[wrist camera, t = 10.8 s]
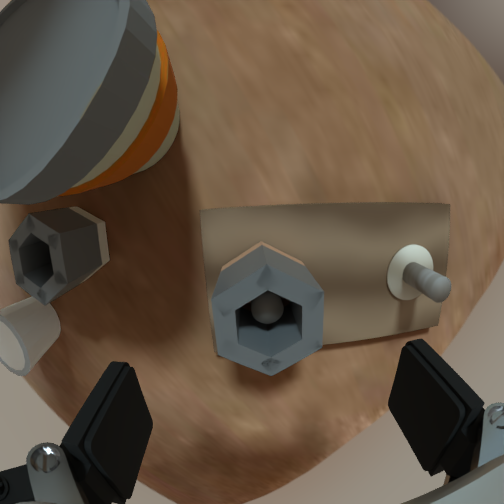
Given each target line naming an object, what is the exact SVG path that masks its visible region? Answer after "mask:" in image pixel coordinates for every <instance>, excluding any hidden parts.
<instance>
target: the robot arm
mask: <svg viewBox="0 0 504 504" xmlns="http://www.w3.org/2000/svg"><path fill="white" fill-rule="evenodd" d="M483 405H484V402H483V401H482V399H481V398H480V397H479V396H478V395H477V394H476V393H475V392H474V391H473V390H472V389H471V388H470V386H469V385H468V384H467V383H466V382H465V381H464V380H463V379H462V378H461V377H460V376H459V375H458V374H457V373H456V372H455V371H454V370H453V369H452V368H451V367H450V366H449V365H448V364H447V363H446V362H445V361H444V360H443V359H442V358H441V357H440V356H439V355H438V354H437V353H436V352H435V351H434V350H433V349H432V348H431V347H430V346H429V345H428V344H427V343H426V342H425V341H424V340H423V339H417V340H413V341H408V342H407V343H406V345H405V346H404V347H403V348H402V350H401V355H400V359H399V363H398V367H397V371H396V375H395V379H394V383H393V386H392V390H391V393H390V397H389V400H388V406H389V409H390V411H391V413H392V415H393V416H394V418H395V420H396V421H397V423H398V425H399V427H400V429H401V430H402V432H403V434H404V436H405V437H406V439H407V440H408V443H409V444H410V446H411V448H412V450H413V452H414V453H415V455H416V457H417V459H418V461H419V463H420V464H421V466H422V468H423V469H424V470H425V471H428V472H429V474H430V476H433V475H435V474H437V473H440V472H441V471H443V470H444V471H445V472H446V477H445V481H444V484H443V486H442V487H439V488H437V489H435V490H433V491H431V492H429V493H427V494H424V495H422V496H420V497H417V498H415V499H412V500H410V501H407V502H404V503H402V504H504V403H494V404H491V405H489V406H488V407H487V408H486V410H484V408H483ZM152 428H153V421H152V418H151V415H150V413H149V410H148V407H147V405H146V402H145V399H144V396H143V394H142V391H141V388H140V385H139V382H138V379H137V376H136V373H135V370H134V368H133V367H130V365H129V364H128V363H127V362H114V361H113V362H111V363H110V364H109V366H108V367H107V369H106V370H105V372H104V373H103V375H102V376H101V378H100V379H99V381H98V383H97V384H96V386H95V387H94V389H93V390H92V392H91V393H90V395H89V397H88V398H87V400H86V401H85V403H84V405H83V406H82V408H81V409H80V411H79V413H78V414H77V416H76V418H75V419H74V421H73V423H72V424H71V426H70V428H69V429H68V431H67V433H66V434H65V436H64V438H63V440H62V443H61V445H60V446H58V445H56V444H54V443H48V442H47V443H41V444H38V445H36V446H35V447H33V448H32V449H31V450H30V451H29V453H28V455H27V458H26V459H27V460H26V462H27V464H26V465H22V466H19V467H16V468H12V469H8V470H4V471H1V472H0V504H111V503H112V502H114V503H117V504H125V502H126V499H130V498H131V496H132V493H133V489H134V486H135V483H136V479H137V476H138V473H139V470H140V466H141V463H142V460H143V456H144V453H145V450H146V447H147V444H148V441H149V437H150V434H151V431H152Z"/></svg>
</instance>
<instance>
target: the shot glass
mask: <svg viewBox="0 0 504 504" xmlns="http://www.w3.org/2000/svg"><path fill="white" fill-rule="evenodd" d="M60 331H61V327H60V320H59V318H58V316H57V313H56V311H55V310H54V308H53V307H52V305H51V304H50V303H49V304H47V305H46V306H45V305H43V304H42V303H40V302H39V301H38V300H36V299H35V298H34V297H33V296H32V297H29V298H27V299H24V300H22V301H19V302H17V303H14V304H12V305H10V306H7V307H5V308H2V309H0V361H1V363H2V364H3V365H4V366H5V367H6V368H7V369H8V370H10V371H11V372H13V373H15V374H16V375H19V376H26V375H27V374H28V373H29V372H30V370H31V369H32V368H33V367H34V366H35V364H36V363H37V362H38V361H39V360H40V358H41V357H42V356H43V355H44V354H45V352H46V351H47V350H48V349H49V348H50V347H51V345H52V344H53V343H54V342H55V341H56V340H57V339H58V337H59V335H60Z"/></svg>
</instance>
